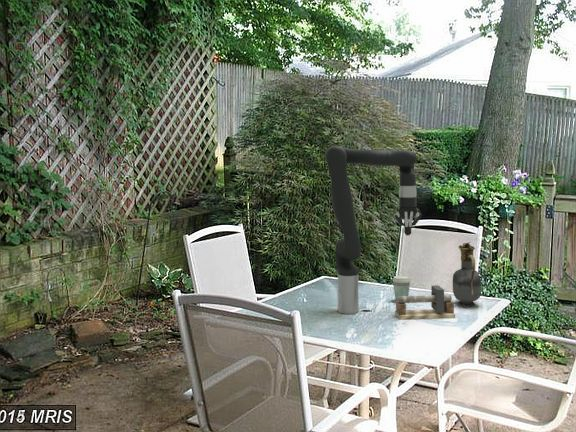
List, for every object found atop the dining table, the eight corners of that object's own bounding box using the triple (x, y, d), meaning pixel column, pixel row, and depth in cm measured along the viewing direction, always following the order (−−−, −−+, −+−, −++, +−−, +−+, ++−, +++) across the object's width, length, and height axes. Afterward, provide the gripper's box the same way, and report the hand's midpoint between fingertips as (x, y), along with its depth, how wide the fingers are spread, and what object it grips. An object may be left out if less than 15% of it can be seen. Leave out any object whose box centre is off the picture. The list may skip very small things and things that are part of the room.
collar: (437, 312, 265) (437, 289, 264) (431, 307, 274) (431, 285, 273) (444, 312, 265) (444, 289, 264) (438, 306, 274) (438, 285, 273)
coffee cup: (389, 301, 296) (388, 277, 295) (400, 298, 302) (400, 274, 301) (403, 304, 290) (403, 279, 289) (414, 301, 296) (414, 277, 294)
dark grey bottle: (473, 300, 295) (473, 238, 292) (485, 310, 276) (486, 244, 273) (450, 300, 295) (450, 239, 293) (461, 310, 277) (461, 244, 274)
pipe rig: (400, 319, 264) (400, 298, 263) (395, 313, 274) (394, 293, 273) (455, 317, 265) (455, 297, 264) (448, 312, 275) (448, 292, 274)
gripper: (394, 197, 266) (394, 236, 268) (424, 196, 266) (424, 235, 268) (391, 195, 273) (391, 234, 275) (420, 195, 274) (420, 233, 276)
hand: (407, 235), depth 272 cm, fingers closed
